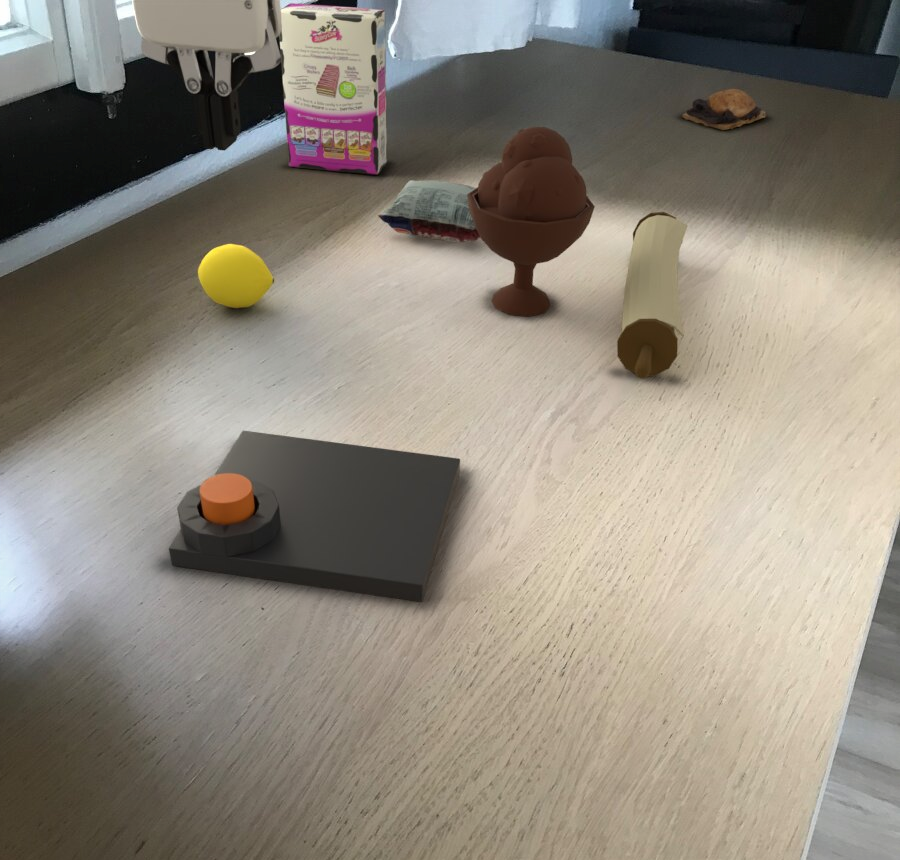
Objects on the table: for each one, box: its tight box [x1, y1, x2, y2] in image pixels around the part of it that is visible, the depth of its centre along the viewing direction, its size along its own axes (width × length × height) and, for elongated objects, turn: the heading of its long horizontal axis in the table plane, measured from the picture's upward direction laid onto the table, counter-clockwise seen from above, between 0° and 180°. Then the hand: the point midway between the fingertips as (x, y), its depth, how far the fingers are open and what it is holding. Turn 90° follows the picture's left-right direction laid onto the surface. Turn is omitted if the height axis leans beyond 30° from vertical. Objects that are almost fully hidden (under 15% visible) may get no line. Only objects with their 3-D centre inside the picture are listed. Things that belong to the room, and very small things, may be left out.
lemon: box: [197, 243, 275, 309], centre depth 87 cm, size 7×5×5 cm
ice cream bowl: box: [467, 126, 596, 317], centre depth 87 cm, size 11×11×15 cm
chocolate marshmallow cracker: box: [681, 88, 766, 131], centre depth 138 cm, size 11×8×4 cm
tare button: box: [200, 473, 255, 525], centre depth 61 cm, size 3×3×2 cm
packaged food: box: [377, 179, 481, 243], centre depth 102 cm, size 9×12×5 cm
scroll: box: [616, 211, 689, 379], centre depth 89 cm, size 32×6×5 cm, turn 168°
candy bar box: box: [278, 2, 388, 176], centre depth 112 cm, size 11×5×16 cm, turn 80°
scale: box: [168, 430, 461, 602], centre depth 65 cm, size 16×14×3 cm
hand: (221, 144), depth 79 cm, fingers closed
